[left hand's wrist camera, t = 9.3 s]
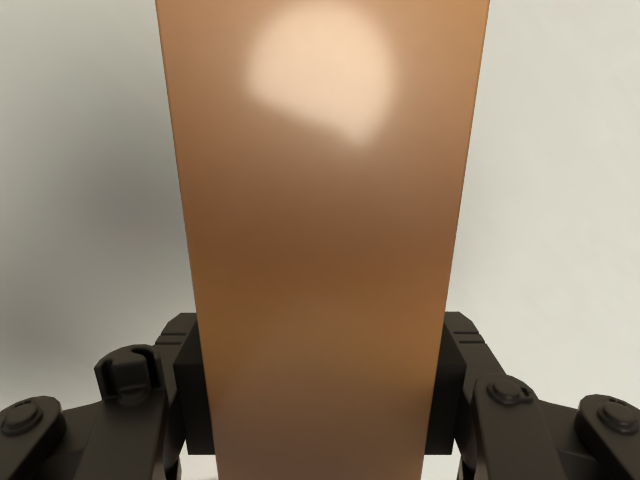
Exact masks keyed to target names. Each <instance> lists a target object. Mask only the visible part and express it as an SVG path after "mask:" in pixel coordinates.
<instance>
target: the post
mask: <svg viewBox="0 0 640 480" xmlns="http://www.w3.org/2000/svg"><path fill="white" fill-rule="evenodd" d="M489 3H490V0H155V4H156V11H157V19H158V26H159V34H160V41H161V49H162V56H163V64H164V71H165V79H166V86H167V94H168V102H169V109H170V117H171V124H172V132H173V139H174V147H175V154H176V162H177V169H178V177H179V184H180V192H181V199H182V207H183V215H184V222H185V230H186V237H187V245H188V252H189V260H190V267H191V275H192V282H193V290H194V297H195V305H196V312H197V320H198V328H199V335H200V343H201V350H202V358H203V365H204V373H205V380H206V388H207V395H208V403H209V410H210V418H211V425H212V433H213V441H214V448H215V456H216V463H217V471H218V478H219V480H421V473H422V466H423V460H424V453H425V446H426V439H427V432H428V425H429V418H430V411H431V404H432V397H433V390H434V384H435V377H436V370H437V363H438V356H439V349H440V342H441V335H442V328H443V321H444V314H445V307H446V301H447V294H448V287H449V280H450V273H451V266H452V259H453V252H454V245H455V238H456V231H457V225H458V218H459V211H460V204H461V197H462V190H463V183H464V176H465V169H466V162H467V155H468V148H469V142H470V135H471V128H472V121H473V114H474V107H475V100H476V93H477V86H478V79H479V72H480V66H481V59H482V52H483V45H484V38H485V31H486V24H487V17H488V10H489Z"/></svg>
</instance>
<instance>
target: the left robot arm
mask: <svg viewBox="0 0 640 480" xmlns="http://www.w3.org/2000/svg"><path fill="white" fill-rule="evenodd" d="M94 371H95V375H96V378H97V382H98V386H99V389H100V393H101V397H102V400H101V401H100V402H96V403H93V404H90V405H85V406H81V407H77V408H72V409H68V410H64V411H62V408H61V405H60V402H59V401H58V400H56V399H55V398H54V397H48V396H39V397H32V398H28V399H25V400H22V401H20V402H17V403H15V404H13V405H11V406H9V407H7V408H6V409H4V410H2V411H1V412H0V480H181V471H182V470H181V464H180V458H179V454H180V452H181V449H182V447H183V444H184V441H185V439H186V445H187V450H188V455H215V448H214V441H213V433H212V425H211V418H210V410H209V403H208V395H207V388H206V380H205V373H204V365H203V358H202V350H201V343H200V335H199V328H198V320H197V313H180V314H179V315H177V316H176V317H175V318H173V319H172V320H171V321H169V322H168V323H167V325H166V326H165V328H164V329H163V331H162V333H161V336H159V337H158V339H157V340H156V342H155V345H153V346H150V345H146V344H138V345H130V346H126V347H122V348H119V349H117V350H115V351H113V352H111V353H109V354H107V355H106V356H105V357H103V358H102V359H101V360H100V361H99V362H98V363H97V365H96V366H95V367H94ZM454 438H455V440H456V443H457V446H458V448H459V451H460V453H461V458H460V464H459V469H458V474H457V480H640V410H639V409H638V408H636V407H634V406H632V405H630V404H628V403H627V402H625V401H622V400H620V399H617V398H614V397H611V396H606V395H599V394H594V395H588V396H585V397H584V398H583V399H582V400H581V401H580V403H579V406H578V409H574V408H570V407H566V406H561V405H557V404H553V403H549V402H545V401H542V400H539V399H538V397H537V396H536V394H535V393H534V391H533V390H532V389H531V388H530V387H529V386H528V385H526V384H525V383H524V382H522V381H520V380H518V379H517V378H515V377H513V376H509V375H506V373H505V372H504V370H503V368H502V367H501V365H500V364H499V362H498V361H497V359H496V358H495V356H494V355H493V353H492V352H491V350H490V348H489V347H488V345H487V344H485V341H484V339H483V338H482V336H481V335H480V334H479V332H478V330H477V328H476V327H475V325H474V324H473V322H472V321H471V320H469V319H468V318H467V317H465V316H464V315H463V314H461V313H460V312H445V314H444V321H443V328H442V335H441V342H440V349H439V356H438V363H437V370H436V377H435V384H434V390H433V397H432V404H431V411H430V418H429V425H428V432H427V439H426V446H425V453H424V455H451V454H452V449H453V443H454Z"/></svg>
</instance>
